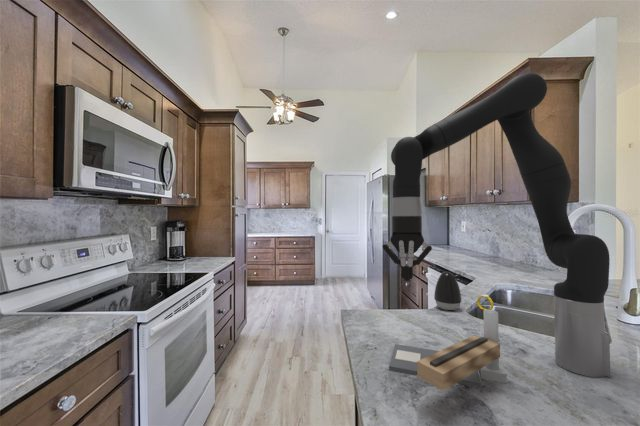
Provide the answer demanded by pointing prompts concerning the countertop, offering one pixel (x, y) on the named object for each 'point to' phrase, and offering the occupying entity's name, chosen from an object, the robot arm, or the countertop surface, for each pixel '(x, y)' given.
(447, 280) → the black egg-shaped device
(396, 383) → the countertop surface
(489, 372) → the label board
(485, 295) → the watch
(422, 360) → the brown long rectangular block
